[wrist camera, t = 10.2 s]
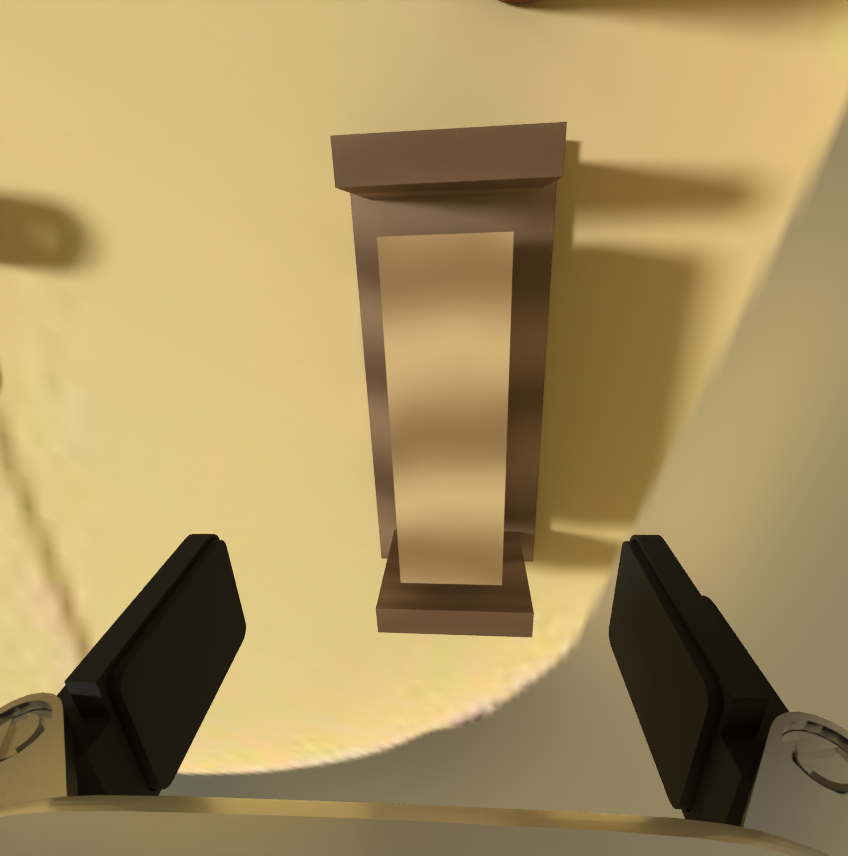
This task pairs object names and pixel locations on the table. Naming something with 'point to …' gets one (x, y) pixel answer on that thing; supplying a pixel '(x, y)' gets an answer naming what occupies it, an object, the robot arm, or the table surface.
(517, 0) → the supplement bottle
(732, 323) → the table surface
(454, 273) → the plank
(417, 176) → the holder
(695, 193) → the table surface
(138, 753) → the robot arm
